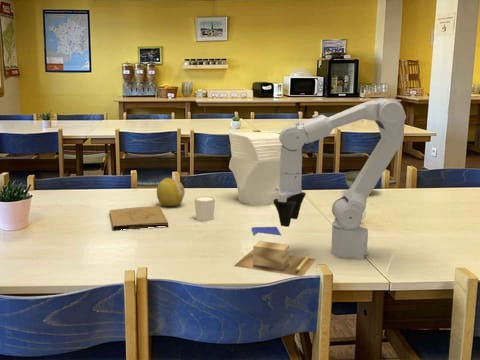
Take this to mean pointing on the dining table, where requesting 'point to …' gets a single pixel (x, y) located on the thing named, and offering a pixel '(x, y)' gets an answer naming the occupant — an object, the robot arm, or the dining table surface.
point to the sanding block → (271, 255)
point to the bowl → (352, 178)
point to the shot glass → (204, 208)
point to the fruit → (170, 192)
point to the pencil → (302, 264)
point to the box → (137, 218)
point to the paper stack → (256, 166)
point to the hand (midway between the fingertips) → (289, 222)
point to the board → (293, 264)
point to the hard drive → (266, 230)
